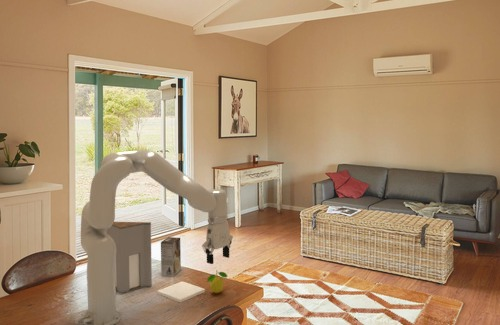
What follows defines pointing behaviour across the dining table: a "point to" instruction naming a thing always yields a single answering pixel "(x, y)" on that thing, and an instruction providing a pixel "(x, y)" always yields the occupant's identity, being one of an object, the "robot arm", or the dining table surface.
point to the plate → (181, 291)
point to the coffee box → (170, 256)
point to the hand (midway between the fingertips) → (218, 260)
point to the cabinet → (132, 255)
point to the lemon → (216, 282)
